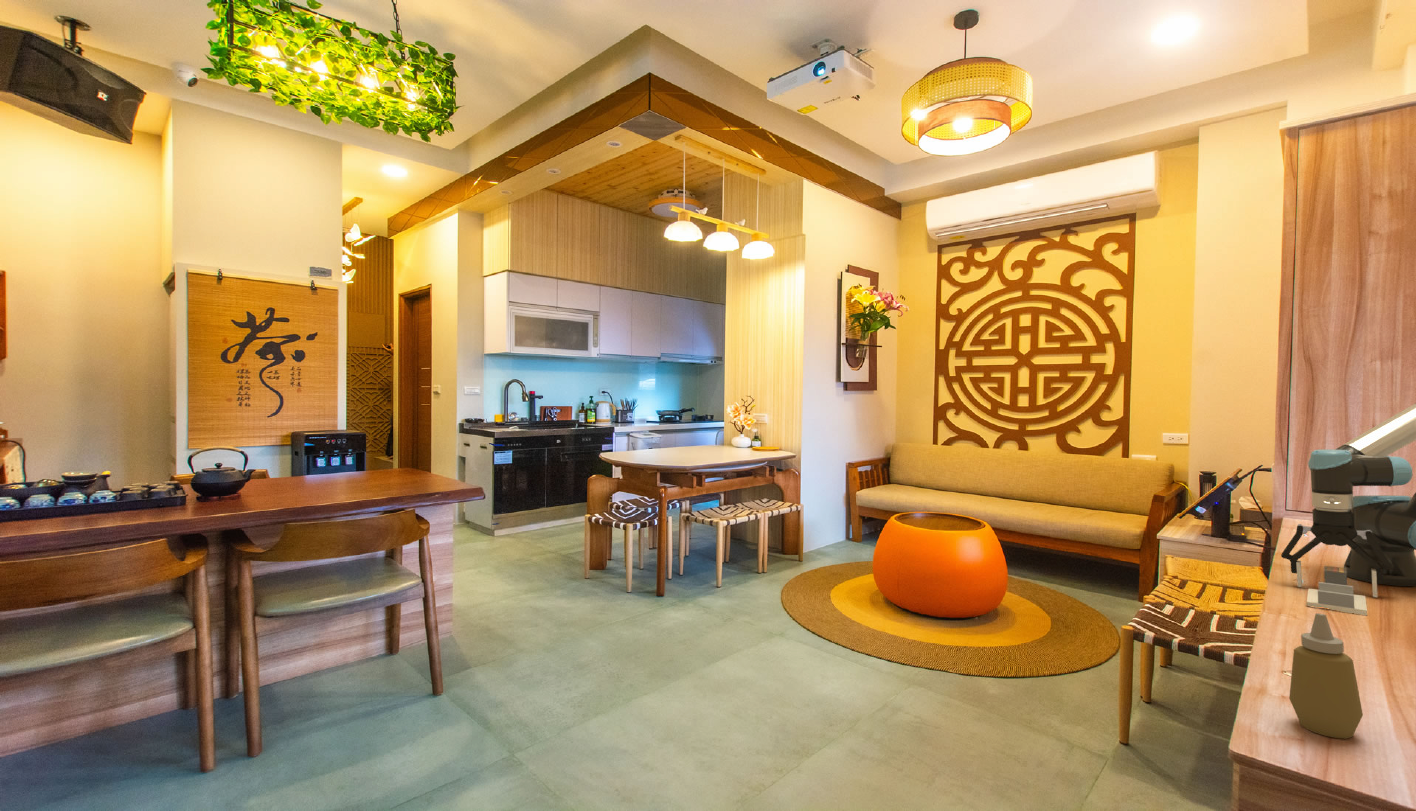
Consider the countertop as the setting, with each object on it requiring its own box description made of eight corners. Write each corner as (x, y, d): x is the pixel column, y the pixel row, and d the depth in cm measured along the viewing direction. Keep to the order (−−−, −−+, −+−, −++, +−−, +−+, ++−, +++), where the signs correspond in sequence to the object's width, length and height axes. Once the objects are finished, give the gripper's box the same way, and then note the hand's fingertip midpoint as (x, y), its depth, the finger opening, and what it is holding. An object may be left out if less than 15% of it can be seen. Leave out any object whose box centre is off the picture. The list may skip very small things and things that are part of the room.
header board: (1308, 592, 158) (1308, 576, 158) (1365, 600, 151) (1364, 583, 151) (1306, 606, 148) (1306, 589, 148) (1367, 615, 141) (1366, 597, 141)
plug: (1325, 588, 161) (1324, 565, 161) (1347, 591, 158) (1346, 567, 158) (1325, 593, 157) (1324, 570, 157) (1347, 596, 154) (1346, 572, 154)
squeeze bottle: (1380, 743, 91) (1374, 622, 91) (1325, 744, 91) (1320, 624, 91) (1326, 715, 99) (1321, 605, 99) (1276, 717, 99) (1271, 607, 99)
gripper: (1266, 506, 164) (1269, 585, 164) (1406, 516, 146) (1410, 604, 146) (1268, 503, 169) (1271, 578, 169) (1404, 511, 151) (1408, 596, 151)
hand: (1336, 590), depth 158 cm, fingers open, 13 cm apart
